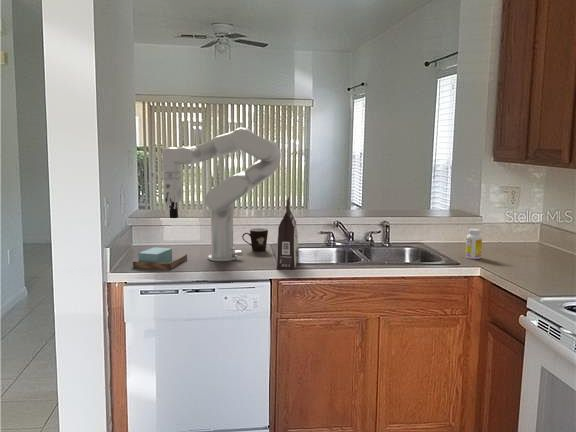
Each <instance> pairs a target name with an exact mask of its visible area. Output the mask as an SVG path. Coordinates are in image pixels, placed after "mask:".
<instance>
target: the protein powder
mask: <svg viewBox="0 0 576 432" xmlns="http://www.w3.org/2000/svg"><path fill="white" fill-rule="evenodd" d="M277 229H278V231H277V241H276V251H275V254H276V255H275V257H276V258H275V260H276V261H275V262H276V264H275V265H276V270H296V267H297V262H298V258H299V235H298V229H297V221H296V219H295V218H294V215H293V213H292V210H291V208H290V196H288V198H287V200H286V205H285V214H284V215H283V217H282V219H281V221H280V222H279V225H278V228H277Z"/></svg>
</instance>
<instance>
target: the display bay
mask: <svg viewBox="0 0 576 432" xmlns="http://www.w3.org/2000/svg"><path fill="white" fill-rule="evenodd" d="M186 261H188V253H185V254H182V255H181V256H179V257H176V258H174V259H172V261H171V262H169V263H160V262H141V261H139V258H138V259H136V260H134V261H132V268H134V269H146V270H147V269H149V270H167V271H171V270H172V269H174V268H176V267H177V266H180V265H181V264H182V263H184V262H186Z"/></svg>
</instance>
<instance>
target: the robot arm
mask: <svg viewBox="0 0 576 432" xmlns="http://www.w3.org/2000/svg"><path fill="white" fill-rule="evenodd" d="M239 151H242V152H244V153H246V154H248V155H250V156H252V157H254V158H256V159H258V160H257V161H255V162H254V163H253V164H251V165H249V167H247V168H245V169H244V170H242V171H241V172H238V173H235V174H232V175H231V176H229V177H227V178H226V179H224V180H223V181H221V182H220V183H218V184H217V185H216V186H214V187H212V188H211V189H210V190H209V191H208V192H207V193H206V195H205V199H204V202H205V205H206V207H207V208H208V209H209V210H211V212H210V215H211V216H210V217H211V218H210V231H211V233H210V235H211V237H210V239H211V240H210V241H211V243H210V245H211V254H209V255H208V256H207V259H208V260H210V261H214V262H230V261H235V260H236V259H237V258H238V256H239V257H241V256H243V251H242V250H236V247H234V206H235V202H236V201H237V200H239V199H240V198H242V197H244V196H245V195H247V194H249V193H250V191H252V190H253V189H254V188H256V187H258V186H259V185H261V184H262V183H263V182H265V180H267V179H268V178H270V177H271V176H272V175H273V174H274V173H276V171H277V169H278V167H279V165H280V163H281V157H282V155H281V154H282V153H281V149H280V146H279V144H278V143H277V142H275V141H274V140H268V139H266V138H264V137H262V136H260V135H257V134H256V133H254V132H253V131H252V130H251V129H249V128H247V127H237V128H236V129H234V130H233V131H230V132H227V133H223V134H220V135H217V136H214V137H213V138H211V139H210V140H209V141H207V142H204V143H201V144H200V143H199V144H196V145H194V146H193V145H192V146H184V147H183V146H182V147H165V148H163V149H162V151H161V153H162V154H161V155H162V172H163V173H162V175H163V180H164V183H163V184H164V185H163V186H164V187H163V194H164V195H163V197H164V199H163V200H164V202H165V203H166V206H168V209H169V218H170V219H178V218H179V211H178V210H179V204H180V202H182V201H183V199H184V196H183V195H184V194H183V185H182V184H183V182H182V169H181V168H182V167H181V166H182V165H187V166H188V165H196V164H198V163H202V162H205V161H208V160H211V159H214V158H220V157H222V156H226V155H229V154H232V153H235V152H236V153H237V152H239Z"/></svg>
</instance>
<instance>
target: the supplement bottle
mask: <svg viewBox="0 0 576 432" xmlns="http://www.w3.org/2000/svg"><path fill="white" fill-rule="evenodd" d="M468 232H469V233H468V234H467V235H466V239H465V258H467V259H469V260H470V259H471V260H480V259H481V258H482V245H483V237H482V236H481V235H480V234H481V230H480V229H477V228H469V229H468Z"/></svg>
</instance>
